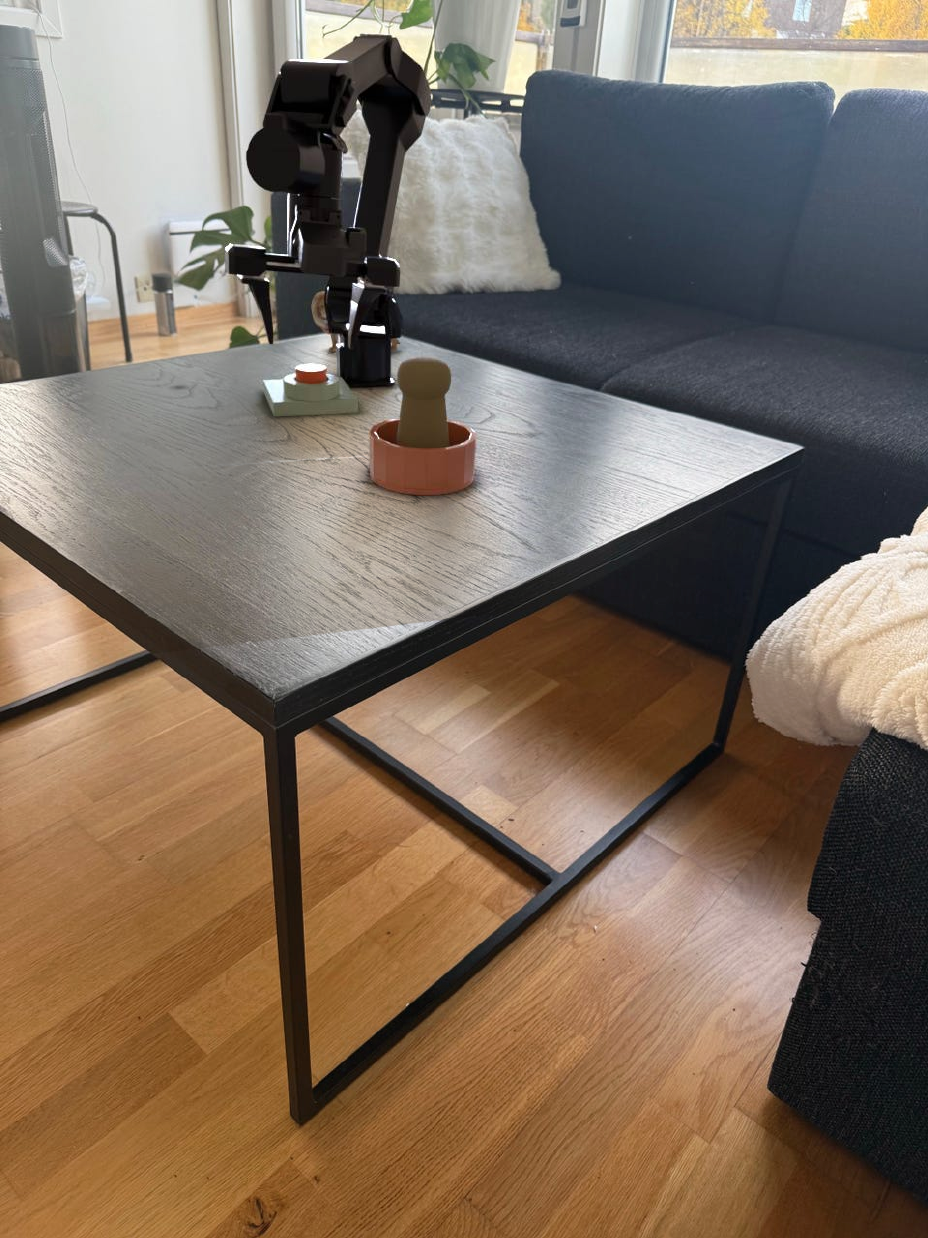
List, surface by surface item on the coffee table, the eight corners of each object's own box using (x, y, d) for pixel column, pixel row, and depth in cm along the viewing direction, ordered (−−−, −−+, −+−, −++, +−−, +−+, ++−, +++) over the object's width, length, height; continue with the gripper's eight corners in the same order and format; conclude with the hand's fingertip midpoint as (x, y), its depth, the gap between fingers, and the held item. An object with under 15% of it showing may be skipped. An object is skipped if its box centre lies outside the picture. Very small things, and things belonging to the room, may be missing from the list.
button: (323, 377, 108) (323, 363, 108) (329, 385, 105) (328, 370, 105) (294, 378, 107) (293, 364, 107) (298, 386, 104) (298, 371, 104)
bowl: (456, 455, 95) (457, 414, 93) (487, 491, 87) (490, 446, 84) (360, 461, 92) (360, 419, 90) (383, 498, 84) (383, 453, 81)
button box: (342, 390, 115) (341, 362, 113) (358, 413, 107) (358, 384, 105) (264, 393, 112) (262, 365, 111) (274, 417, 104) (272, 387, 102)
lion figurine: (322, 360, 128) (320, 295, 124) (306, 352, 132) (303, 288, 127) (408, 350, 136) (409, 288, 131) (390, 343, 139) (390, 282, 135)
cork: (421, 485, 86) (423, 370, 80) (379, 467, 89) (379, 357, 84) (464, 471, 89) (469, 360, 84) (422, 455, 93) (425, 348, 88)
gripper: (232, 187, 86) (234, 353, 92) (417, 207, 92) (407, 362, 98) (223, 186, 95) (225, 337, 102) (392, 204, 101) (384, 346, 108)
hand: (311, 346), depth 102 cm, fingers open, 9 cm apart
